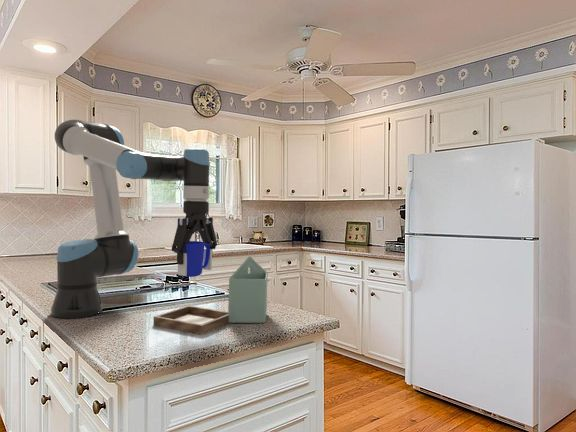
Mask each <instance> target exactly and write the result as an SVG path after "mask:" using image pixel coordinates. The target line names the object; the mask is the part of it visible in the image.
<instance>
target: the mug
mask: <svg viewBox="0 0 576 432" xmlns="http://www.w3.org/2000/svg"><path fill="white" fill-rule="evenodd" d="M205 245H206V248H205ZM181 249H182V248H181ZM204 249H206V257H205V262H204V265H203V257H204ZM185 253H187V276H182V275H180V276H181V277H186V278H193V277H198V276H200V275H201V274H202V273H203V268H205V267H206V266H207V265H208V261H209V256H210V244H208V243H204V242H203V241H201V240H200V241H198V240H190V241H189V244H186V251H185Z"/></svg>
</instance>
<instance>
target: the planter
mask: <svg viewBox="0 0 576 432" xmlns="http://www.w3.org/2000/svg"><path fill="white" fill-rule="evenodd" d="M268 274H269V273H268V271H267V270H265V269H264V268H263V266H261V265H260V264H259V263H257V261H256V260H255V259H254V258H253V257H252V256H250V255H249V256H247V258H246V259H245V260H244V262H242V264H240V266H238V268H237V269H236V270H235V271H234V272H233V274H232V275H231V276H230V277H229V280H228V282H229V283H228V310H227V312H228V322H229V324H231V323H232V324H235V323H237V324H238V323H239V324H241V323H242V324H243V323H244V324H245V323H246V324H250V323H251V324H258V323H259V324H261V323H262V324H264V323H266V320H267V309H268V308H267V307H268V305H267V304H268V283H269V282H268V280H269V279H268Z"/></svg>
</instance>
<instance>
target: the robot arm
mask: <svg viewBox="0 0 576 432" xmlns="http://www.w3.org/2000/svg"><path fill="white" fill-rule="evenodd" d="M54 141H55V144H56V146H57V147H58V148H59V149H60V150H61V151H63V152H66V153H68V154H70V155H73V156H80V155H81V156H82V157H83V163H84V165H87V166H88V168H89V174H90V182H91V190H92V198H93V205H94V213H95V215H94V216H95V222H96V231H97V234H96V235H95V236H94V238H93V239H92V238H91V239H90V238H89V239H85V238H84V239H76V240H71V241H67V242H64V243H61V244H60V245H59V246H58V247H57V254H56V261H57V262H56V263H57V269H56V270H57V274H56V275H57V281H56V283H57V286H56V287H57V289H56V290H57V291H56V294H55V297H54V299H53V303H52V305H51V308H50V315H51V316H52V317H54V318H58V319H78V318H79V319H80V318H87V317H91V316H95V315H94V314H96V313H98V312H101V311H102V310H103V308H104V307H103V302H102V299H101V295H100V293H99V292H100V291H99V290H98V278H102V277H110V276H115V275H116V276H117V275H122V274H125V273H129V272H130V271H132V270H133V269H134V268H135V266H136V265H137V263H138V260H139V248H138V245H137V244H136V243H135V241H133V240H131V239H130V235H129V233H128V232H126V231H125V229H124V223H123V215H122V208H121V207H122V206H121V199H120V192H119V183H118V175H117V173H119V175H120V176H121V177H123V178H126V179H131V180H139V179H140V180H150V181H151V180H154V181H163V182H178V181H179V182H181V181H183V189H182V191H183V193H182V194H183V195H182V197H183V199H184V200H185V201H183V205H182V206H183V207H182V209H183V211H182V212H183V213H184V214H185V217H178V218H177V227H176V231H175V234H174V237H173V242H172V245H171V246H172V247H171V251H172V252H173V253H175V254H176V264H177V275H178V276H181V275H182V276H181V277H184V276H187V253H185V251H186V244H189V241H191V238H192V236H193V235H194V234H195V233H196V232H197V233H198V234H199V237H200V238H201V242H204V243H208V244H210V256H209V261H208V265H207V266H206V267H205V268H202V270H206V271H212V268H213V266H212V265H213V250H215V249H216V247H217V246H218V242H217V236H216V233H215V228H214V227H215V226H214V225H213V224H214V223H213V222H214V218H213V217H212V216H207V214H208V213H209V210H210V202H209V201H208V200H209V199H210V198H209V197H210V196H209V194H210V192H209V191H210V189H209V188H210V187H209V186H210V165H211V163H210V153H209V151H208V150H207V149H205V148H196V147H195V148H193V147H192V148H185V149H184V151H183V156H182V155H181V156H172V155H170V156H169V155H162V154H155V153H153V154H151V153H146V152H141V151H139V150H135V149H133V148H130V147H128V146H125V140H124V137H123V134H122V133H121V131H120V130H119V129H118V128H116V127H115V126H112V125H109V124H106V123H98V122H92V121H86V120H81V119H68V120H64V121H63V122H61V123H60V124H58V125H57V127H56V128H55V131H54ZM181 248H182V249H181ZM205 257H206V245H205V246H204V257H203V265H204V262H205ZM102 312H103V311H102ZM102 312H101V313H102ZM96 315H97V314H96Z"/></svg>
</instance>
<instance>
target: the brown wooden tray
mask: <svg viewBox="0 0 576 432" xmlns="http://www.w3.org/2000/svg"><path fill="white" fill-rule="evenodd" d="M152 322H153V326H155V327H161V328H165V329H171V330H175V329H176V331H180V330H181V331H180V332H185V331H187V332H186V333H190V332H192V333H191V334H195V333H198V334H197V335H200V334H203V335H205V334H207V333H206V332H208V331H210V332H212V331H214V330H213V329H215V330H216V328H217V329H219V328H222V327H224V326H226V325H228V323H229V322H228V311H225V310H218V309H214V308H213V309H211V308H206V307H201V306H200V307H199V306H193V305H186V306H183V307H179V308H177V309H173V310H171V311H167V312H165V313H161V314H157V315H155V316H153V321H152ZM229 324H230V323H229ZM223 325H224V326H223ZM221 326H222V327H221ZM218 327H219V328H218ZM211 330H212V331H211ZM204 333H205V334H204ZM208 333H209V332H208Z"/></svg>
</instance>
